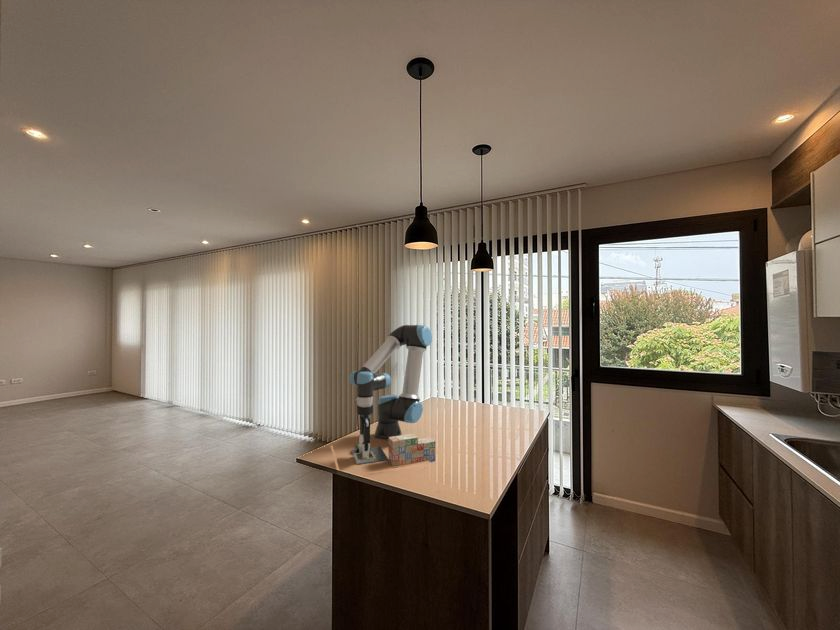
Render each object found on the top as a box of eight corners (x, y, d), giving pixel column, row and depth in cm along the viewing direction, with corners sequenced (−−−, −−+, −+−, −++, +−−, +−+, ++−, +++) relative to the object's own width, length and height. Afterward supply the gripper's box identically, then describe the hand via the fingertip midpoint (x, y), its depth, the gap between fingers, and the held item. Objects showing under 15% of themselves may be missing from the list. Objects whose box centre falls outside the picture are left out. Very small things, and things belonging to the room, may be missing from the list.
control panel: (380, 448, 174) (380, 441, 174) (389, 462, 157) (389, 455, 157) (350, 452, 169) (350, 445, 169) (356, 467, 152) (356, 459, 152)
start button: (364, 448, 170) (364, 442, 170) (365, 451, 166) (365, 445, 166) (356, 449, 168) (356, 443, 168) (358, 452, 165) (358, 446, 165)
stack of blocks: (430, 456, 165) (430, 430, 165) (435, 461, 159) (435, 434, 159) (388, 463, 156) (388, 436, 157) (392, 468, 151) (392, 440, 151)
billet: (368, 453, 162) (368, 432, 162) (370, 457, 157) (371, 436, 157) (358, 455, 160) (358, 433, 160) (360, 459, 155) (360, 437, 155)
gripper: (354, 401, 166) (353, 449, 166) (360, 410, 149) (360, 463, 149) (369, 400, 169) (368, 447, 168) (377, 409, 152) (376, 461, 151)
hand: (364, 454), depth 158 cm, fingers closed on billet, 5 cm apart
